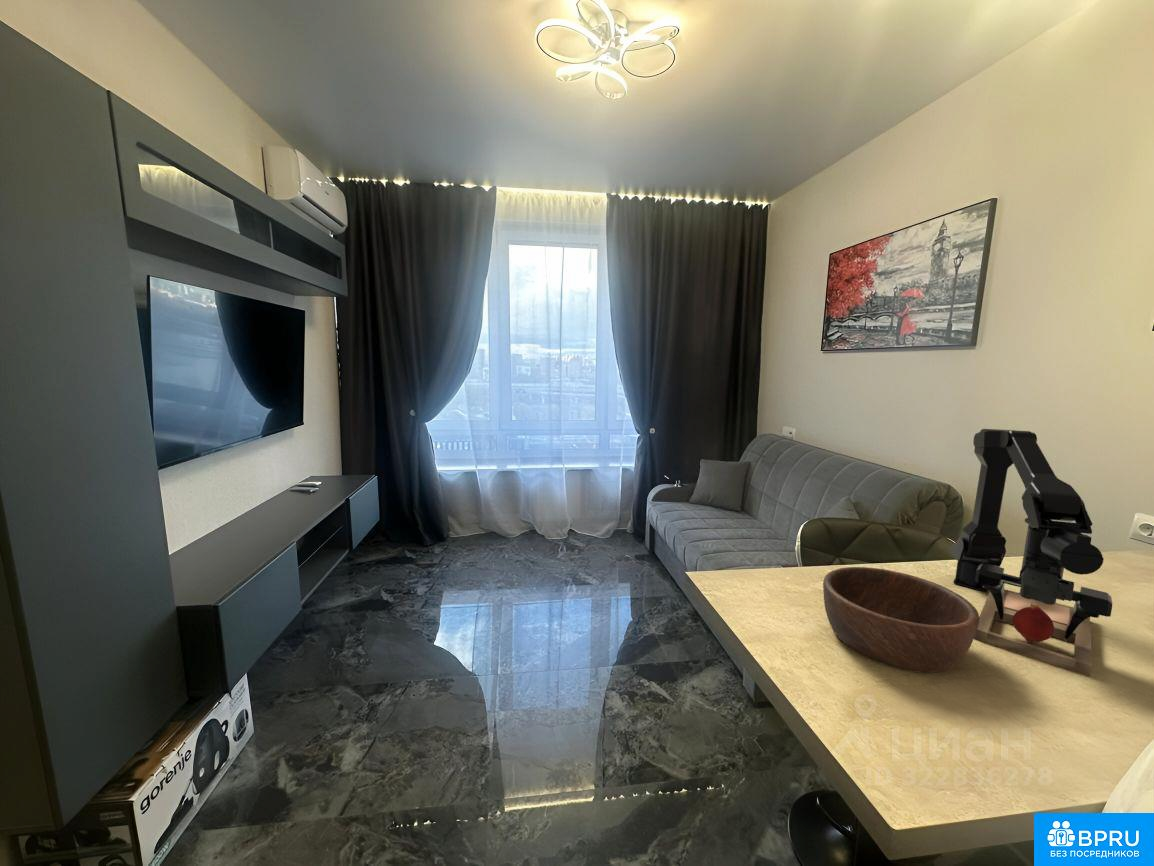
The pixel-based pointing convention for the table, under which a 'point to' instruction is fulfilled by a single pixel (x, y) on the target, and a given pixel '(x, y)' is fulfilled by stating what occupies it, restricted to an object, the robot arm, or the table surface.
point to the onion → (1033, 624)
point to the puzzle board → (1060, 621)
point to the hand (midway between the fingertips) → (1032, 628)
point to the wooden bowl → (899, 618)
